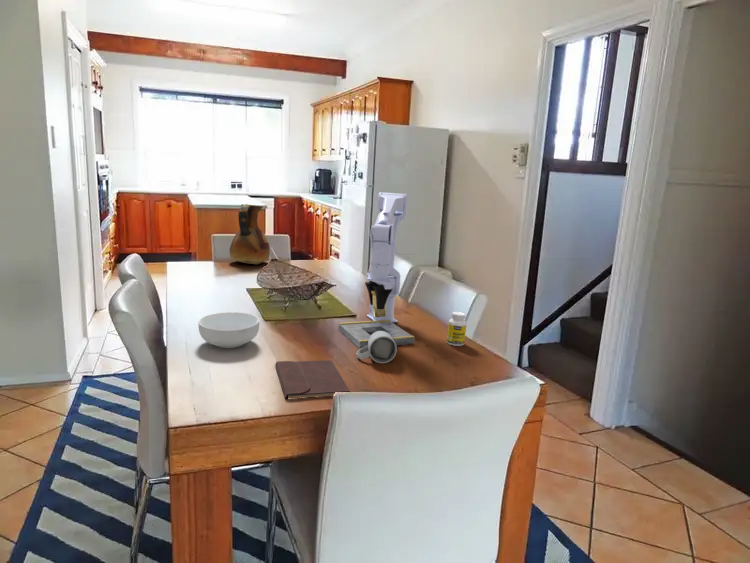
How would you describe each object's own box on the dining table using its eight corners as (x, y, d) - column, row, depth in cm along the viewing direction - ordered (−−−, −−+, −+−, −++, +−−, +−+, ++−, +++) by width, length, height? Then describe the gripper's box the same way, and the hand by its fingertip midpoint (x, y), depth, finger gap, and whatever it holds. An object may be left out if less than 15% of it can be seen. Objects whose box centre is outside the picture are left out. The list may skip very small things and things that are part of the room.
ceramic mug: (392, 353, 150) (393, 327, 148) (396, 363, 142) (397, 337, 141) (355, 353, 149) (356, 327, 147) (357, 363, 141) (358, 336, 139)
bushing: (370, 314, 164) (369, 289, 162) (383, 312, 166) (382, 287, 164) (376, 318, 160) (375, 293, 158) (389, 316, 161) (388, 291, 160)
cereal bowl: (197, 335, 154) (197, 312, 153) (254, 332, 160) (254, 310, 159) (200, 356, 139) (199, 330, 137) (263, 352, 145) (263, 327, 143)
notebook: (332, 365, 140) (332, 358, 139) (350, 397, 121) (350, 389, 121) (275, 368, 135) (275, 361, 135) (285, 401, 117) (285, 393, 116)
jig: (338, 329, 168) (338, 323, 168) (388, 326, 175) (389, 319, 175) (359, 348, 152) (359, 341, 152) (413, 343, 159) (414, 336, 159)
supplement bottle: (450, 346, 159) (454, 316, 157) (443, 341, 164) (446, 311, 162) (467, 346, 160) (470, 315, 158) (459, 340, 165) (462, 310, 163)
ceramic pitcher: (274, 261, 274) (276, 204, 268) (261, 268, 255) (262, 206, 248) (239, 258, 277) (239, 201, 270) (223, 265, 257) (223, 203, 251)
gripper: (358, 259, 164) (356, 301, 167) (377, 268, 151) (374, 313, 154) (379, 259, 166) (376, 300, 169) (399, 268, 154) (396, 312, 157)
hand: (377, 306), depth 162 cm, fingers closed on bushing, 4 cm apart
